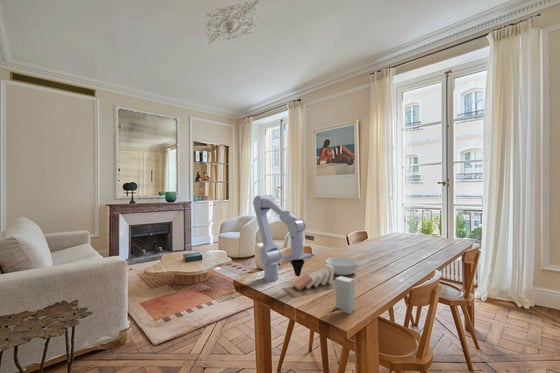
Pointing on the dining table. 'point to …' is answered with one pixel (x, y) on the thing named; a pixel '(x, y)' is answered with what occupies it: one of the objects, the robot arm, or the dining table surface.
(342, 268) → the cereal bowl
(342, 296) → the skincare box
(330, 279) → the domino
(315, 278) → the domino
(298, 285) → the terracotta domino
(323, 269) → the domino
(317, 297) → the dining table surface
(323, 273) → the domino
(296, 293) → the board
